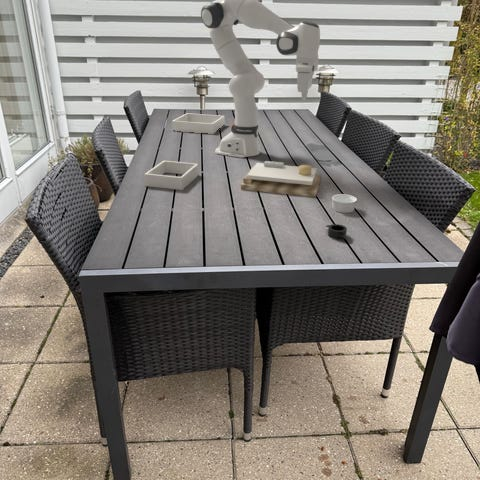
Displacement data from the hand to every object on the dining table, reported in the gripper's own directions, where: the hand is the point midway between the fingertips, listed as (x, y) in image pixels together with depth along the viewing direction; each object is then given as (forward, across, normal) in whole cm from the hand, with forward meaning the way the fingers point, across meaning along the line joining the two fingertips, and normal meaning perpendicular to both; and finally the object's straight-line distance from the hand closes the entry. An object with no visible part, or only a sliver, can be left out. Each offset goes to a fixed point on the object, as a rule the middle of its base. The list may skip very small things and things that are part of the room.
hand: (304, 100), depth 196 cm
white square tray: (+31, -67, -70) cm, 102 cm away
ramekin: (+32, +40, +22) cm, 55 cm away
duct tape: (+32, +64, +21) cm, 74 cm away
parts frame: (+31, +29, -49) cm, 65 cm away
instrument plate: (+27, +20, -4) cm, 34 cm away
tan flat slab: (+31, +20, -4) cm, 37 cm away
